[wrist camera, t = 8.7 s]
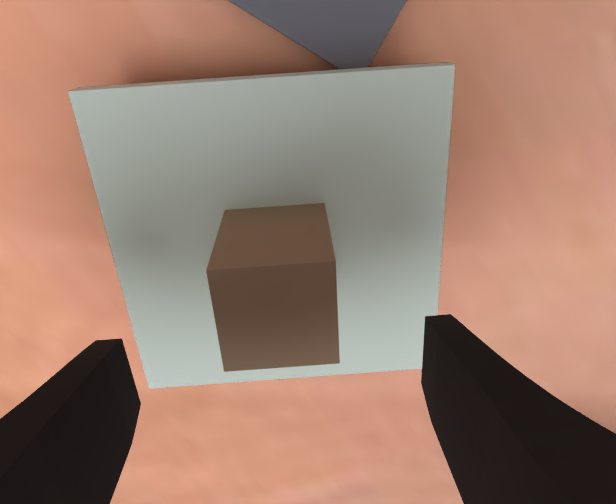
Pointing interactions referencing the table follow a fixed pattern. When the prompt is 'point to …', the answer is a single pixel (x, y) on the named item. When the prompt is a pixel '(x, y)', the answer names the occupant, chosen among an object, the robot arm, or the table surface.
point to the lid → (274, 217)
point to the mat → (330, 25)
